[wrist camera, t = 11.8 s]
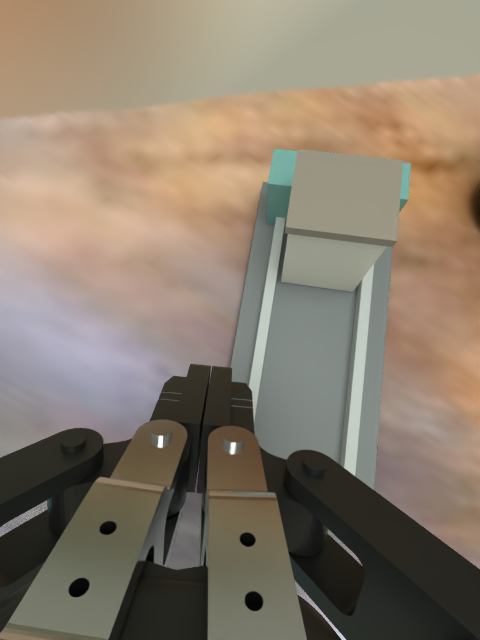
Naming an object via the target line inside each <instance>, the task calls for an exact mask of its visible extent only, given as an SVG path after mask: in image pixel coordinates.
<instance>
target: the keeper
mask: <svg viewBox="0 0 480 640" xmlns="http://www.w3.org/2000/svg"><path fill="white" fill-rule="evenodd" d="M402 169H403V160H397V159H388V158H378V157H369V156H359V155H350V154H340V153H331V152H321V151H312V150H302V149H298V150H297V156H296V163H295V169H294V176H293V182H292V189H291V195H290V201H289V208H288V214H287V221H286V227H285V234H288V237H287V244H286V251H285V257H284V264H283V271H282V277H281V282H285V283H292V284H299V285H306V286H313V287H320V288H328V289H335V290H342V291H349V292H353V291H354V289H355V288H356V287H357V286H358V284H359V283H360V282H361V280H362V279H363V278H364V276H365V275H366V274H367V272H368V271H369V270H370V268H371V267H372V266H373V264H374V263H375V262H376V260H377V259H378V258H379V256H380V255H381V254H382V252H383V251H384V250H385V248H386V247H393V246H394V244H395V243H396V242H397V235H398V222H399V209H400V195H401V182H402Z"/></svg>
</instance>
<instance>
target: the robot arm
mask: <svg viewBox="0 0 480 640" xmlns="http://www.w3.org/2000/svg"><path fill="white" fill-rule="evenodd" d="M210 370H211V366H206V365H196V364H190V367H189V370H188V374H187V377H179V376H173V377H172V378H171V379H169V380H168V381H167V382H165V384H164V387H163V389H162V393H161V394H160V397H159V400H158V402H157V404H156V407H155V409H154V412H153V414H152V417H151V419H150V422H147V423H145V424H143V425H142V426H140V427H139V428H138V430H137V431H136V433H135V435H134V436H133V438H132V439H130V440H127V441H122V442H116V443H108V444H103V438H102V436H101V435H100V434H99V433H98V432H96V431H94V430H91V429H87V428H74V429H69V430H65V431H62V432H59V433H57V434H55V435H52V436H50V437H48V438H46V439H43V440H41V441H39V442H36V443H34V444H32V445H29V446H27V447H25V448H22V449H20V450H18V451H15V452H13V453H11V454H8V455H6V456H4V457H1V458H0V527H1V526H2V525H3V524H5V523H7V522H8V521H10V520H12V519H14V518H16V517H17V516H19V515H21V514H23V513H25V512H26V511H28V510H30V509H32V508H33V507H35V506H37V505H39V504H41V503H42V502H44V501H46V500H47V506H48V510H46V511H44V512H42V513H41V514H39V515H37V516H35V517H34V518H32V519H30V520H29V521H27V522H25V523H23V524H22V525H20V526H18V527H16V528H15V529H13V530H11V531H10V532H8V533H6V534H4V535H3V536H1V537H0V640H341V638H340V637H339V636H338V635H337V633H336V632H335V631H334V630H333V628H332V627H331V626H330V625H329V624H328V622H327V621H326V620H325V619H324V618H323V617H322V615H321V614H320V613H319V612H318V611H317V610H316V609H315V608H314V607H313V606H311V605H310V604H309V603H308V602H306V601H305V600H304V599H303V598H301V597H300V596H298V595H297V591H296V586H295V581H296V582H297V583H298V584H299V585H300V587H301V588H302V589H303V590H304V591H305V592H306V593H307V595H308V596H309V597H310V598H311V599H312V600H313V602H314V603H315V604H316V605H317V606H318V607H319V609H320V610H321V611H322V612H323V613H324V614H325V615H326V617H327V618H328V619H329V620H330V621H331V622H332V624H333V625H334V626H335V627H336V628H337V629H338V630H339V632H340V633H341V634H342V635H343V636H344V637H345V639H346V640H480V569H478V568H477V567H476V566H474V565H473V564H472V563H470V562H469V561H468V560H466V559H465V558H464V557H462V556H461V555H460V554H458V553H457V552H456V551H454V550H453V549H452V548H450V547H449V546H448V545H446V544H445V543H444V542H442V541H441V540H440V539H438V538H437V537H436V536H434V535H433V534H432V533H430V532H429V531H428V530H426V529H425V528H424V527H422V526H421V525H420V524H418V523H417V522H416V521H414V520H413V519H412V518H410V517H409V516H408V515H406V514H405V513H404V512H402V511H401V510H400V509H398V508H397V507H396V506H394V505H393V504H392V503H390V502H389V501H388V500H386V499H385V498H384V497H382V496H381V495H380V494H378V493H377V492H376V491H374V490H373V489H372V488H370V487H369V486H368V485H366V484H365V483H364V482H362V481H361V480H360V479H358V478H357V477H356V476H354V475H353V474H352V473H350V472H349V471H348V470H346V469H345V468H344V467H342V466H341V465H340V464H338V463H337V462H336V461H334V460H333V459H332V458H330V457H329V456H327V455H325V454H323V453H321V452H318V451H314V450H298V451H295V452H293V453H291V454H290V455H289V457H288V458H287V460H286V459H283V458H280V457H277V456H274V455H272V454H270V453H268V452H266V451H265V450H264V449H262V448H261V447H260V446H259V442H258V439H257V438H256V436H255V433H254V416H253V401H252V400H253V399H252V390H251V389H250V388H249V387H248V385H247V384H246V383H241V382H232V368H227V367H217V366H212V371H211V377H210ZM209 381H210V383H209ZM199 459H200V462H199ZM198 466H199V473H198V484H197V493H203V495H202V506H201V516H200V541H199V566H198V567H192V568H187V569H181V570H174V569H170V568H167V567H168V563H169V559H170V556H171V552H172V549H173V545H174V541H175V538H176V534H177V530H178V527H179V523H180V520H181V515H182V507H183V505H184V502H185V498H186V492H195V485H196V479H197V472H198ZM328 529H329V530H330V531H331V532H332V533H333V534H334V535H335V536H336V537H337V538H338V539H339V540H341V541H342V542H343V543H344V544H345V545H346V546H347V547H348V548H349V549H350V550H351V551H352V552H353V553H354V554H355V555H356V556H357V557H358V558H359V560H360V562H361V563H362V566H363V567H362V566H361V565H360V564H359V563H358V562H357V561H356V560H355V559H354V558H353V557H352V556H351V555H350V554H349V553H348V552H347V551H346V550H344V549H343V548H342V547H341V546H340V545H339V544H338V543H337V542H336V541H335V540H334V539H333V538H332V537H331V536H330V535H329V534H328ZM294 580H295V581H294Z"/></svg>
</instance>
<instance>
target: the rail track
mask: <svg viewBox="0 0 480 640" xmlns="http://www.w3.org/2000/svg"><path fill="white" fill-rule="evenodd" d="M296 156H297V151H290V150H281V149H274V151H273V157H272V163H271V169H270V175H269V180H268V183H267V182H263V184H262V190H261V196H260V201H259V207H258V213H257V218H256V224H255V230H254V235H253V241H252V247H251V252H250V258H249V264H248V269H247V275H246V281H245V286H244V292H243V298H242V303H241V309H240V315H239V320H238V326H237V332H236V337H235V343H234V349H233V354H232V360H231V366H230V368H232V382H241V383H246V384H247V385H248V387H249V388H250V389H251V390H252V399H253V400H252V401H253V416H254V433H255V436H256V438H257V439H258V442H259V446H260V447H261V448H262V449H264V450H265V451H266V452H268V453H270V454H272V455H274V456H277V457H280V458H283V459H286V460H287V458H288V457H289V455H290V454H291V453H293V452H295V451H298V450H314V451H318V452H321V453H323V454H325V455H327V456H329V457H330V458H332V459H333V460H334V461H336V462H337V463H338V464H340V465H341V466H342V467H344V468H345V469H346V470H348V471H349V472H350V473H352V474H353V475H354V476H356V477H357V478H358V479H360V480H361V481H362V482H364V483H365V484H366V485H368V486H369V487H370V488H372V489H373V490H374V480H375V468H376V455H377V442H378V429H379V416H380V403H381V390H382V378H383V365H384V352H385V339H386V326H387V313H388V300H389V287H390V275H391V262H392V249H393V247H386V248H385V250H384V251H383V252H382V254H381V255H380V256H379V258H378V259H377V260H376V262H375V263H374V264H373V266H372V267H371V268H370V270H369V271H368V272H367V274H366V275H365V276H364V278H363V279H362V280H361V282H360V283H359V284H358V286H357V287H356V288H355V289H354V291H353V292H349V291H342V290H335V289H328V288H320V287H313V286H306V285H299V284H292V283H285V282H281V277H282V271H283V264H284V257H285V251H286V244H287V237H288V234H285V227H286V221H287V214H288V208H289V201H290V195H291V189H292V182H293V176H294V169H295V163H296ZM410 166H411V163H403V169H402V182H401V195H400V209H399V212H400V211H401V209H402V208H403V207H404V205H405V204H406V202H407V201H408V195H409V181H410ZM328 534H329V535H330V536H334V537H336V536H335V535H334V534H333V533H332V532H331V531H330V530H329V529H328Z"/></svg>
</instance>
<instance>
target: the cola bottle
mask: <svg viewBox="0 0 480 640" xmlns="http://www.w3.org/2000/svg"><path fill="white" fill-rule="evenodd" d="M478 209H479V213H480V191H479V195H478Z"/></svg>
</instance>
